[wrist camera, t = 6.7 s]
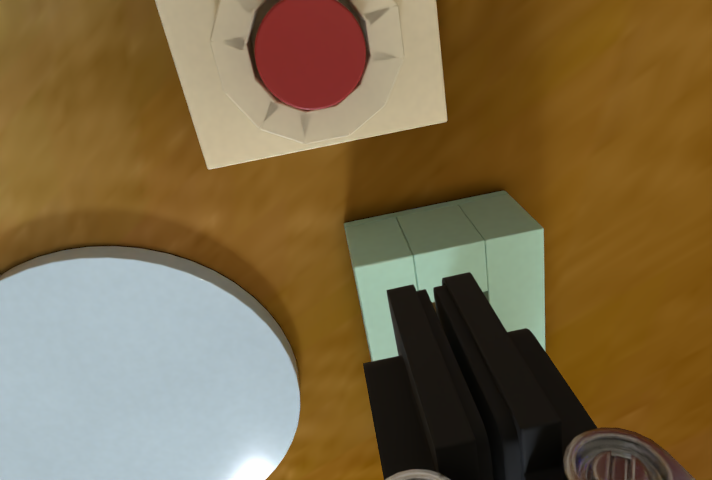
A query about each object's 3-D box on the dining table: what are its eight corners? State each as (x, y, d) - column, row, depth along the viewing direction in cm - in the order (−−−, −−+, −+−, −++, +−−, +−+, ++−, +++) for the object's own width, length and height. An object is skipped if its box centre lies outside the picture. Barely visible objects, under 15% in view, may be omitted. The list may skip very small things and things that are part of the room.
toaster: (392, 465, 33) (406, 531, 29) (343, 222, 26) (353, 267, 22) (516, 438, 34) (547, 501, 30) (505, 189, 26) (544, 228, 22)
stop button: (271, 108, 20) (269, 120, 18) (245, 2, 18) (241, 5, 16) (367, 89, 20) (374, 99, 18) (350, -18, 18) (356, -18, 16)
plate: (39, 535, 33) (30, 554, 32) (-132, 289, 25) (-151, 303, 24) (328, 473, 33) (329, 489, 32) (253, 211, 25) (252, 221, 24)
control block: (214, 154, 24) (201, 185, 20) (153, -48, 20) (123, -54, 17) (435, 110, 24) (460, 133, 20) (413, -98, 20) (439, -114, 17)
